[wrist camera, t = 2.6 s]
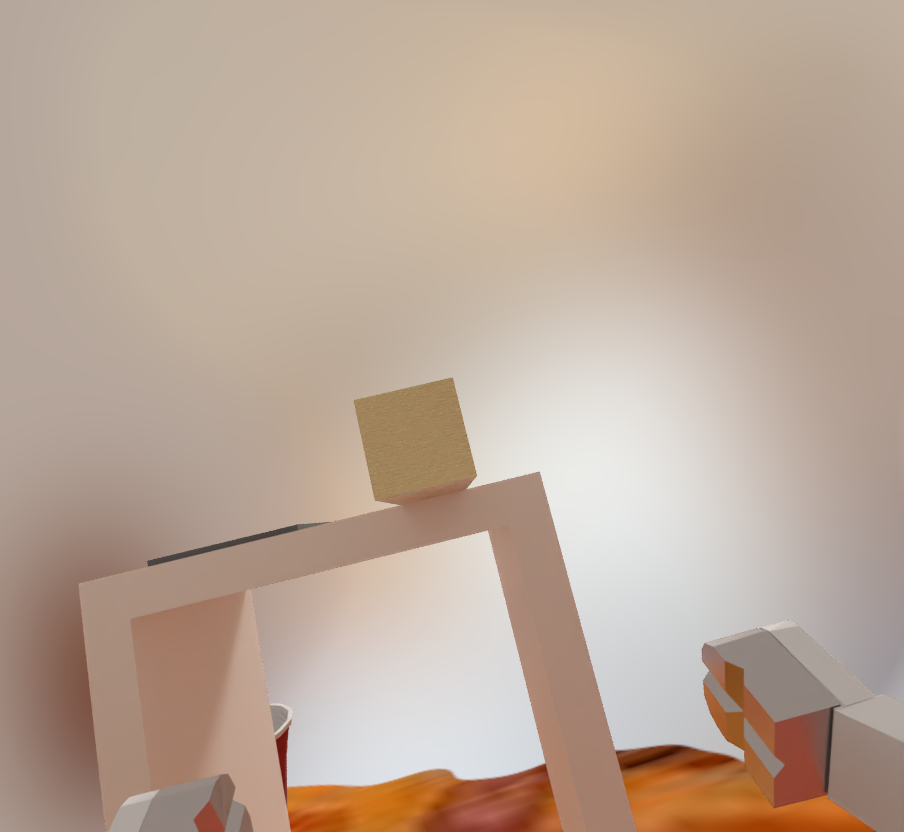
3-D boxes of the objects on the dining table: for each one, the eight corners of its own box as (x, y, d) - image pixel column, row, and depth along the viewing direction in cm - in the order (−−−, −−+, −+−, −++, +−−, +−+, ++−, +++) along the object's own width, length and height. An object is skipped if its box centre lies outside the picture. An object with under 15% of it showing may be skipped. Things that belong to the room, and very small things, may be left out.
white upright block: (608, 887, 33) (504, 482, 38) (722, 1149, 20) (537, 465, 24) (282, 982, 32) (215, 553, 37) (160, 1329, 19) (77, 576, 23)
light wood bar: (459, 497, 37) (449, 456, 37) (476, 475, 15) (452, 377, 16) (417, 507, 37) (407, 466, 37) (374, 500, 15) (353, 400, 16)
